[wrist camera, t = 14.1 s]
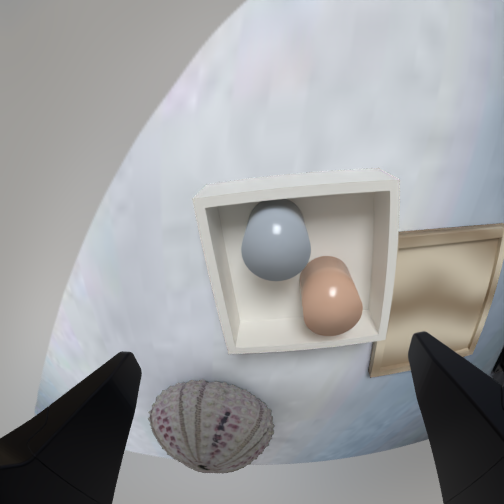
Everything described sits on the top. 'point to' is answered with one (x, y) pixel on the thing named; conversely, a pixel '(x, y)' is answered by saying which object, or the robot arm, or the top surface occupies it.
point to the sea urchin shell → (211, 425)
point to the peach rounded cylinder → (329, 297)
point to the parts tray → (440, 291)
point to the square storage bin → (322, 244)
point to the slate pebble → (276, 240)
